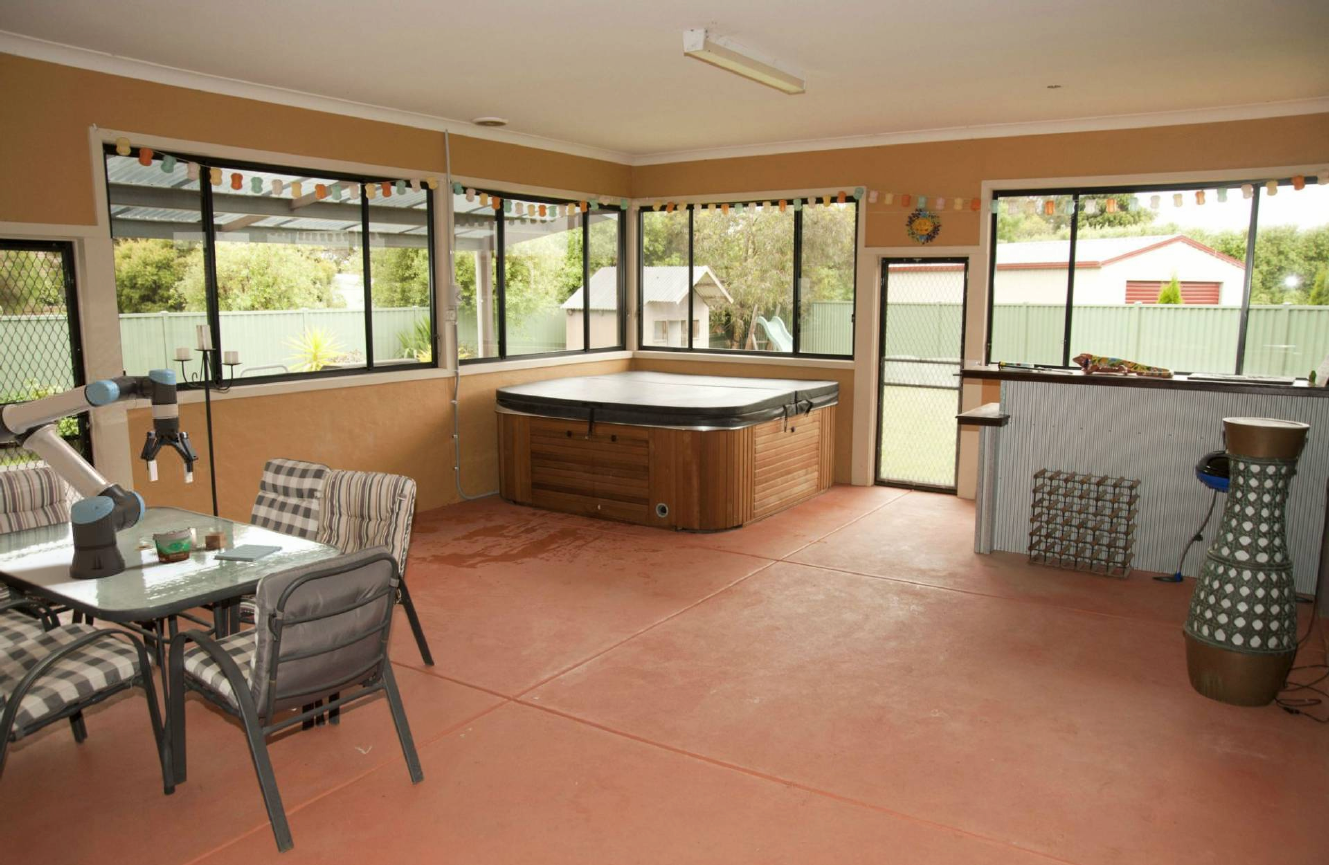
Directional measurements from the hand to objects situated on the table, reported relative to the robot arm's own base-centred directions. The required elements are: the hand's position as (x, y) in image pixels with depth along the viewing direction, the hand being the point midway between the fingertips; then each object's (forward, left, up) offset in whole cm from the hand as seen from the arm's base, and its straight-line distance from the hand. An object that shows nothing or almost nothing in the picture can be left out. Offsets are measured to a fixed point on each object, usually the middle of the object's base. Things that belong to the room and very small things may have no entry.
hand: (171, 481), depth 304 cm
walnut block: (+1, +17, -27) cm, 32 cm away
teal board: (+18, +12, -27) cm, 34 cm away
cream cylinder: (-7, +13, -27) cm, 31 cm away
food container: (0, 0, -27) cm, 27 cm away
